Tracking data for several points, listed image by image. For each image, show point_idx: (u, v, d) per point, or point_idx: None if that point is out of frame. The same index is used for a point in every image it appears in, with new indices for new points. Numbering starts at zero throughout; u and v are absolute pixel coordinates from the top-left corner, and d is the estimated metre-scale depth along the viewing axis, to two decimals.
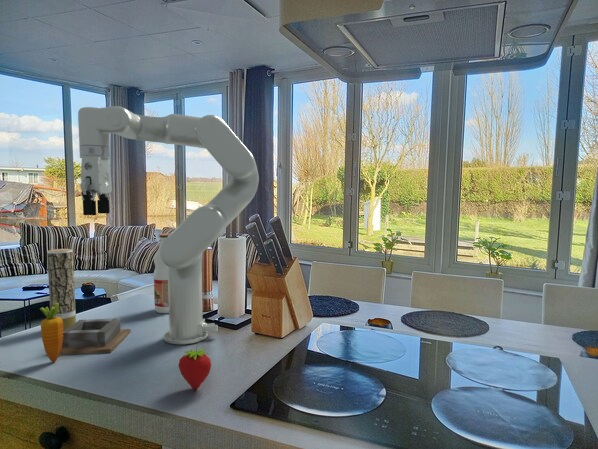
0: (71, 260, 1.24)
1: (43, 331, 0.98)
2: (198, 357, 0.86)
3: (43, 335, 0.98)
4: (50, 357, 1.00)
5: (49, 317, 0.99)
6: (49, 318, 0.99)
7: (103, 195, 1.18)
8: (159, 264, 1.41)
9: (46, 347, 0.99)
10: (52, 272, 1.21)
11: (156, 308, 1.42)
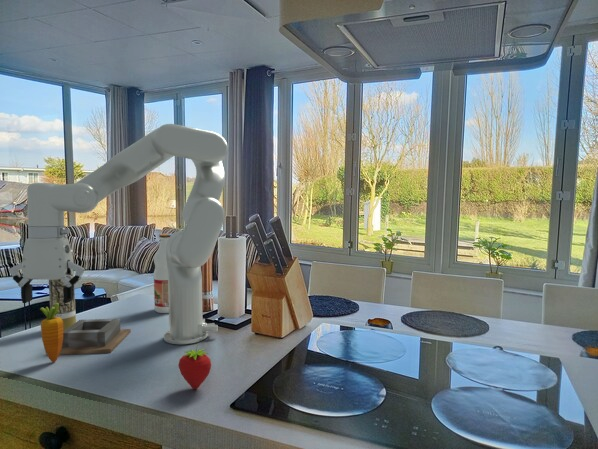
0: None
1: (43, 331, 0.98)
2: (198, 357, 0.86)
3: (43, 335, 0.98)
4: (50, 357, 1.00)
5: (49, 317, 0.99)
6: (49, 318, 0.99)
7: None
8: (159, 264, 1.41)
9: (46, 347, 0.99)
10: None
11: (156, 308, 1.42)
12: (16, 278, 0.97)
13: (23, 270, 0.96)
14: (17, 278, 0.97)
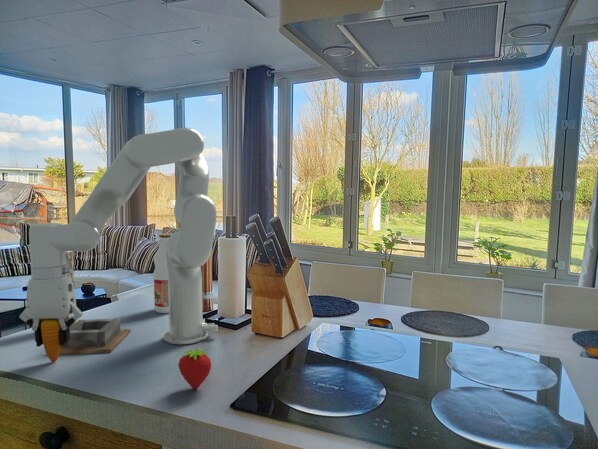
0: (71, 260, 1.24)
1: (43, 331, 0.98)
2: (198, 357, 0.86)
3: (43, 335, 0.98)
4: (50, 357, 1.00)
5: None
6: None
7: None
8: (159, 264, 1.41)
9: (46, 347, 0.99)
10: None
11: (156, 308, 1.42)
12: (30, 322, 0.99)
13: (27, 310, 0.97)
14: (30, 322, 0.99)
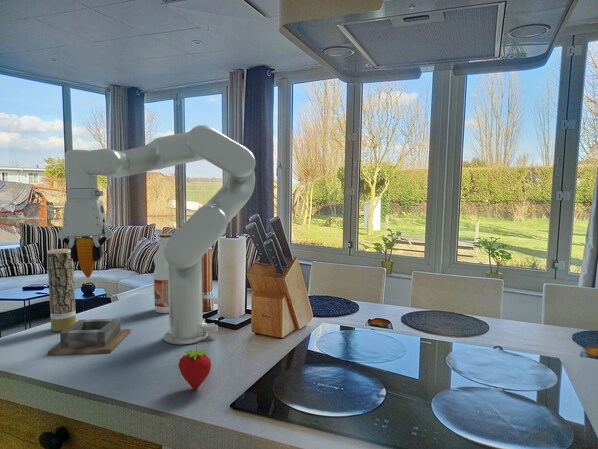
0: (71, 260, 1.24)
1: (79, 247, 1.09)
2: (198, 357, 0.86)
3: (79, 251, 1.09)
4: (85, 272, 1.10)
5: None
6: (83, 237, 1.10)
7: None
8: (159, 264, 1.41)
9: (81, 262, 1.09)
10: (52, 272, 1.21)
11: (156, 308, 1.42)
12: (66, 240, 1.09)
13: (64, 228, 1.08)
14: (67, 240, 1.09)
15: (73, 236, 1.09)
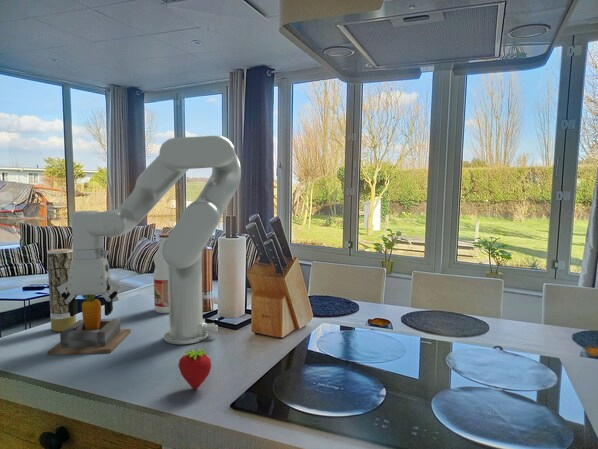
0: None
1: (84, 311, 1.11)
2: (198, 357, 0.86)
3: (84, 314, 1.11)
4: None
5: (89, 299, 1.12)
6: (89, 300, 1.12)
7: None
8: (159, 264, 1.41)
9: (87, 325, 1.12)
10: (52, 272, 1.21)
11: (156, 308, 1.42)
12: (64, 295, 1.12)
13: (70, 287, 1.10)
14: (65, 295, 1.12)
15: None
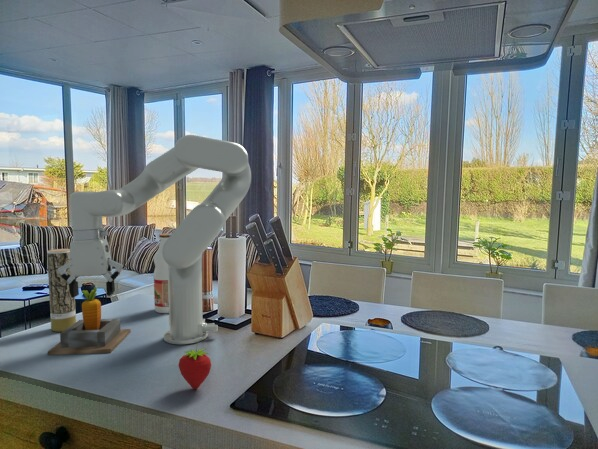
0: None
1: (84, 311, 1.11)
2: (198, 357, 0.86)
3: (84, 314, 1.11)
4: None
5: (89, 299, 1.12)
6: (89, 300, 1.12)
7: None
8: (159, 264, 1.41)
9: (87, 325, 1.12)
10: (52, 272, 1.21)
11: (156, 308, 1.42)
12: (64, 276, 1.11)
13: (70, 269, 1.10)
14: (65, 276, 1.11)
15: (79, 276, 1.11)
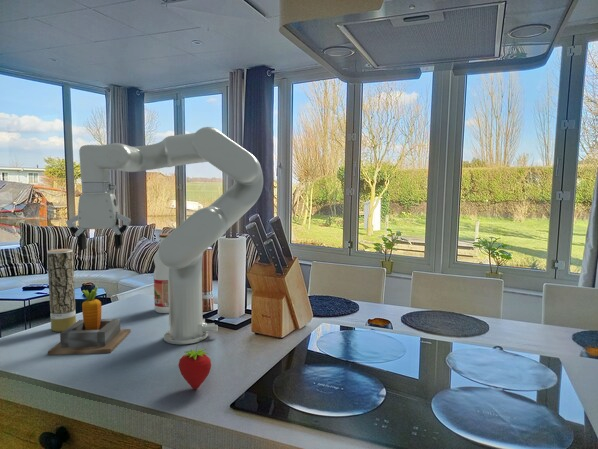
0: (71, 260, 1.24)
1: (85, 311, 1.11)
2: (198, 357, 0.86)
3: (85, 314, 1.11)
4: None
5: (89, 299, 1.13)
6: (89, 300, 1.13)
7: None
8: (159, 264, 1.41)
9: (87, 325, 1.12)
10: (52, 272, 1.21)
11: (156, 308, 1.42)
12: (73, 229, 1.13)
13: (79, 221, 1.12)
14: (73, 229, 1.13)
15: (88, 228, 1.12)
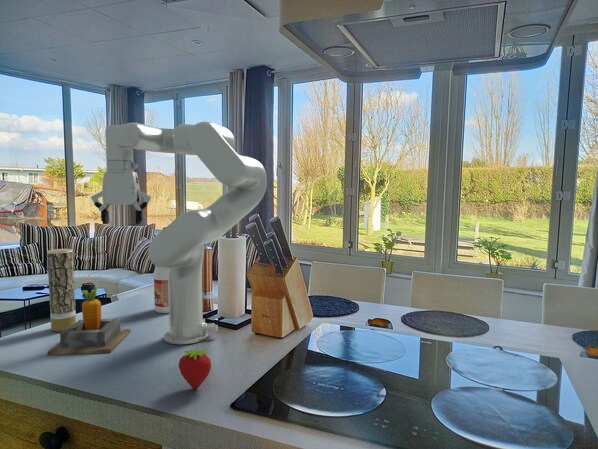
0: (71, 260, 1.24)
1: (84, 311, 1.11)
2: (198, 357, 0.86)
3: (84, 314, 1.11)
4: None
5: (89, 299, 1.12)
6: (89, 300, 1.12)
7: None
8: None
9: (87, 325, 1.12)
10: (52, 272, 1.21)
11: (156, 308, 1.42)
12: (97, 204, 1.20)
13: (103, 197, 1.19)
14: (98, 204, 1.20)
15: (111, 204, 1.20)
